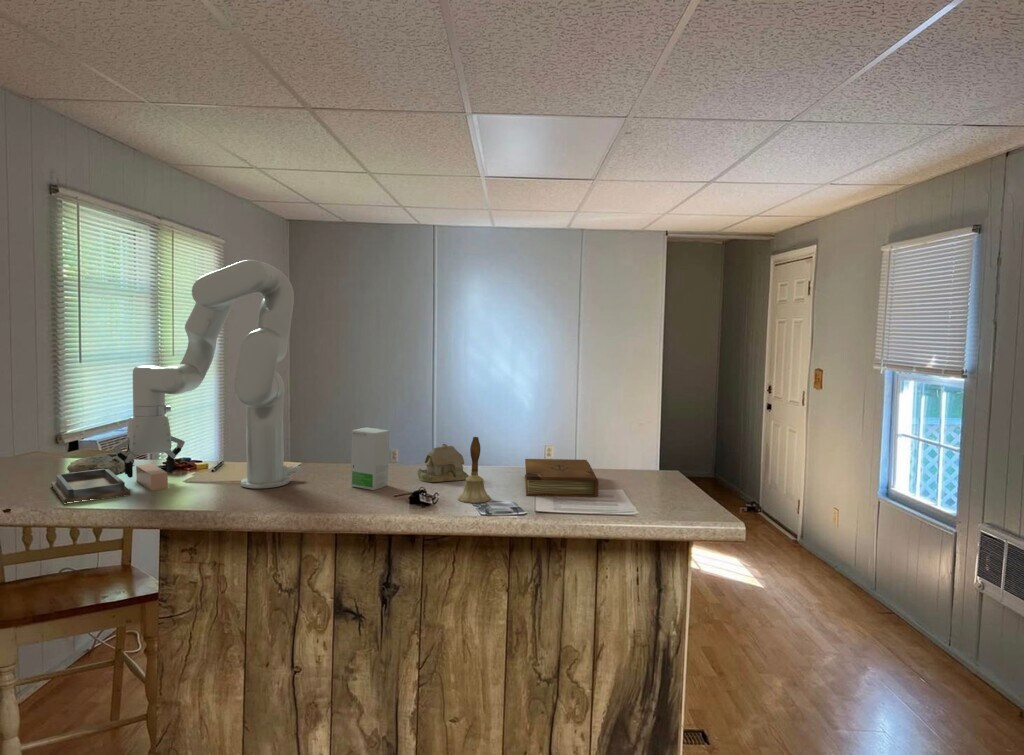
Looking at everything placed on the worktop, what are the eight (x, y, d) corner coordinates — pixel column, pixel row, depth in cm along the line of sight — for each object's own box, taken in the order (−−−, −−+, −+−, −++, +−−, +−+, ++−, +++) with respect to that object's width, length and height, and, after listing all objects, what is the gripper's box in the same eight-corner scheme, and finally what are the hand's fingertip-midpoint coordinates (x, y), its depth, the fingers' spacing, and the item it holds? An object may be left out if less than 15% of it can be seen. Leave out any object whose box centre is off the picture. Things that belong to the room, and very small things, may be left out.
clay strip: (152, 479, 186) (152, 463, 186) (167, 489, 176) (167, 472, 175) (136, 481, 183) (136, 465, 183) (151, 491, 173) (150, 474, 173)
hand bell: (471, 493, 175) (472, 433, 173) (496, 498, 170) (497, 436, 169) (451, 499, 168) (451, 437, 167) (476, 505, 163) (477, 441, 162)
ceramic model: (455, 472, 200) (455, 439, 199) (474, 479, 191) (475, 445, 190) (412, 477, 192) (412, 443, 191) (431, 485, 183) (431, 449, 182)
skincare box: (350, 486, 180) (349, 430, 178) (365, 481, 185) (365, 426, 184) (375, 490, 176) (374, 432, 175) (390, 485, 182) (390, 429, 181)
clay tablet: (103, 463, 207) (59, 476, 187) (103, 447, 206) (59, 459, 186) (148, 465, 207) (108, 478, 187) (148, 449, 206) (108, 461, 186)
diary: (597, 499, 172) (598, 477, 172) (526, 498, 173) (526, 476, 172) (588, 478, 195) (588, 459, 195) (525, 477, 196) (525, 458, 195)
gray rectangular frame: (112, 479, 185) (111, 467, 184) (130, 495, 168) (129, 482, 168) (51, 486, 175) (51, 474, 175) (64, 504, 159) (63, 491, 159)
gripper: (180, 408, 186) (180, 468, 188) (109, 411, 175) (110, 475, 176) (187, 411, 181) (188, 473, 182) (115, 415, 169) (116, 481, 171)
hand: (149, 474), depth 179 cm, fingers open, 9 cm apart
